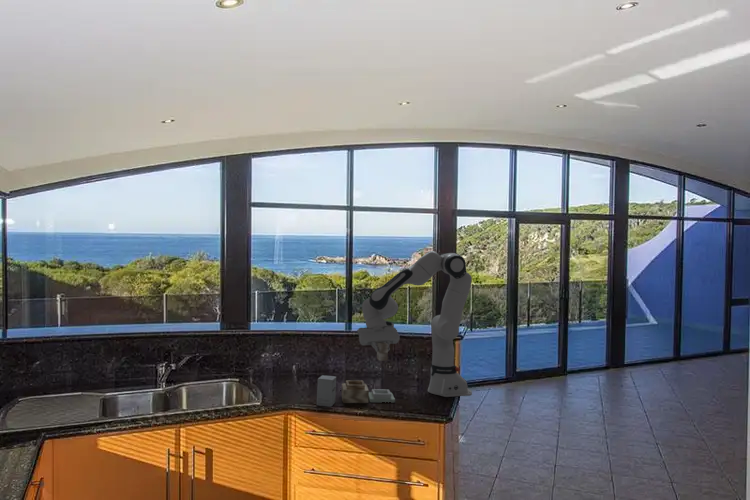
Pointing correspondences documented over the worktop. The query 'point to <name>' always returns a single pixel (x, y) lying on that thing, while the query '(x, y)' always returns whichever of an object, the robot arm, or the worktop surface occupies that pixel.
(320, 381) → the supplement box
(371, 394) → the sage socket plate
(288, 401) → the worktop surface
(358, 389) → the birch stand
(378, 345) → the cream plug block
